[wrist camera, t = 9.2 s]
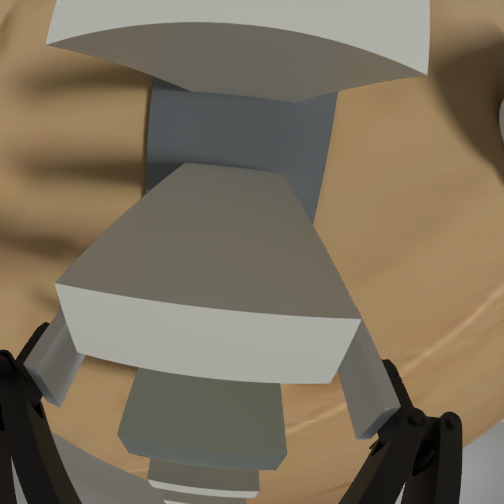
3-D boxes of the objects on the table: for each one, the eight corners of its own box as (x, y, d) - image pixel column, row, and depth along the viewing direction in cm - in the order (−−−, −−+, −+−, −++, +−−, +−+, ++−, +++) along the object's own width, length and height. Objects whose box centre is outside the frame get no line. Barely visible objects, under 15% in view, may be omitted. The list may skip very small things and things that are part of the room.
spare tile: (180, 256, 17) (117, 434, 7) (266, 265, 18) (287, 453, 7) (180, 280, 18) (128, 453, 8) (262, 289, 19) (275, 469, 8)
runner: (164, 23, 11) (163, 21, 11) (342, 43, 12) (344, 42, 12) (162, 385, 24) (162, 388, 24) (265, 396, 25) (265, 399, 25)
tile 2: (185, 162, 15) (54, 283, 4) (282, 173, 15) (361, 318, 4) (183, 193, 16) (77, 352, 5) (277, 203, 16) (330, 383, 5)
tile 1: (196, 61, 12) (74, -46, 1) (298, 72, 13) (428, -18, 2) (192, 91, 13) (45, 44, 2) (293, 103, 13) (427, 75, 3)
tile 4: (181, 324, 20) (146, 479, 9) (254, 332, 20) (259, 491, 10) (182, 341, 21) (152, 486, 10) (251, 348, 21) (254, 497, 10)
